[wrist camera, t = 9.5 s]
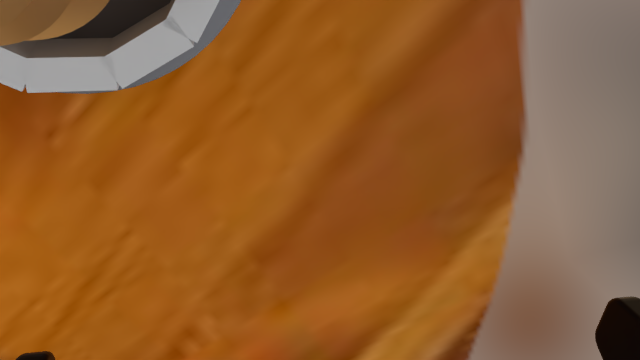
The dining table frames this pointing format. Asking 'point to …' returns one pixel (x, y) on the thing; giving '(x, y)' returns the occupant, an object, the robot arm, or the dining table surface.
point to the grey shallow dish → (116, 47)
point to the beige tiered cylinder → (44, 18)
